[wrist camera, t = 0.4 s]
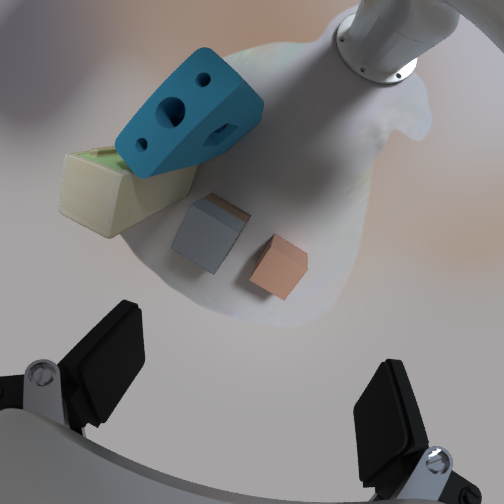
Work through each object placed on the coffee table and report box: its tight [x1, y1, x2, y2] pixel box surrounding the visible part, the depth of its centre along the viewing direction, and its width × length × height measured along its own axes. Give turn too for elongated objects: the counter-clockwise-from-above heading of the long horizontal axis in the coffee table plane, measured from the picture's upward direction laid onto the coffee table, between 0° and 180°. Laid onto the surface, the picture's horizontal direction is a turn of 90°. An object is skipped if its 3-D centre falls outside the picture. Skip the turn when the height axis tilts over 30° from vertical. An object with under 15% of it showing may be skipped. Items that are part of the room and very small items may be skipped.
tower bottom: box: [204, 193, 251, 258], centre depth 42 cm, size 7×7×4 cm
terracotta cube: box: [249, 234, 308, 300], centre depth 42 cm, size 6×6×6 cm
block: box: [115, 48, 264, 179], centre depth 29 cm, size 12×5×20 cm, turn 131°
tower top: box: [171, 198, 246, 275], centre depth 38 cm, size 7×7×4 cm
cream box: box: [59, 146, 198, 239], centre depth 32 cm, size 8×7×21 cm
